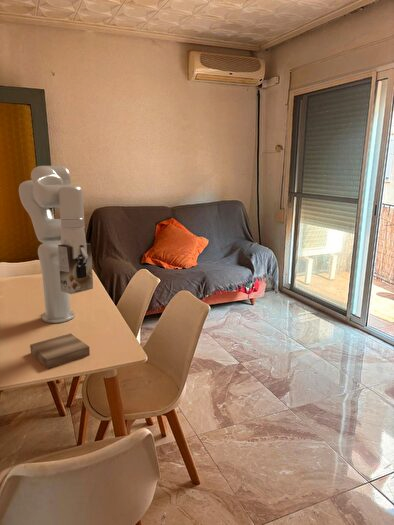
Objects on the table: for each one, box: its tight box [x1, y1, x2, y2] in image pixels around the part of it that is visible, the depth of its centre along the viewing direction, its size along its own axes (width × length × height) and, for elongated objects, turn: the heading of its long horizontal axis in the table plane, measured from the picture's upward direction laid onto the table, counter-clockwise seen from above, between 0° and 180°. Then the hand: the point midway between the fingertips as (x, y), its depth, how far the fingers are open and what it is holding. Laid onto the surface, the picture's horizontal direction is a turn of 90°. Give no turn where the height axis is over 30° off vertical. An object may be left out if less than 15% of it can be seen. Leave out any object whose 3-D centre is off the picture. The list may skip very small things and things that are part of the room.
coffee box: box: [58, 242, 94, 295], centre depth 135 cm, size 9×6×16 cm
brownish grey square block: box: [29, 333, 91, 370], centre depth 130 cm, size 14×14×3 cm
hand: (76, 275), depth 135 cm, fingers closed on coffee box, 6 cm apart
